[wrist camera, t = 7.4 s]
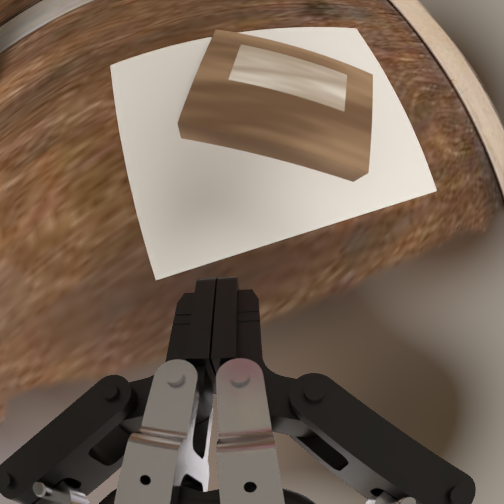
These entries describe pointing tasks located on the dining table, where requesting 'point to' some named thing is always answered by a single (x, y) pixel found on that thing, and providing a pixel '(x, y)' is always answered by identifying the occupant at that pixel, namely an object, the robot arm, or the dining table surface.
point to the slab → (281, 104)
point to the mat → (247, 161)
